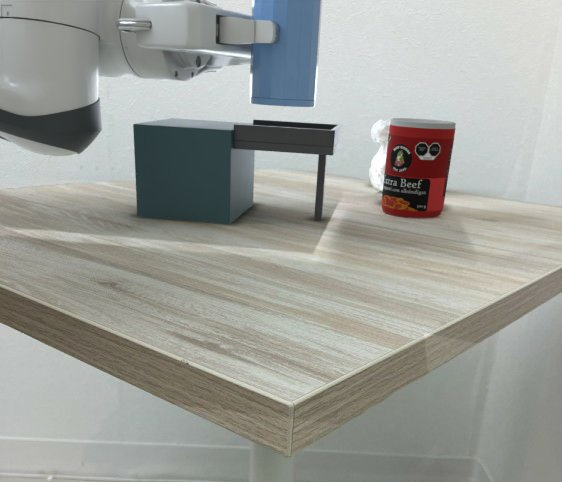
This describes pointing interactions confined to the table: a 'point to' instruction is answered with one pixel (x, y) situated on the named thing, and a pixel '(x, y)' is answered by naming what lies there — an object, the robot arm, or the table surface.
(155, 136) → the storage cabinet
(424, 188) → the canned food
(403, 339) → the table surface
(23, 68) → the robot arm
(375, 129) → the bust
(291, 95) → the cylindrical container
